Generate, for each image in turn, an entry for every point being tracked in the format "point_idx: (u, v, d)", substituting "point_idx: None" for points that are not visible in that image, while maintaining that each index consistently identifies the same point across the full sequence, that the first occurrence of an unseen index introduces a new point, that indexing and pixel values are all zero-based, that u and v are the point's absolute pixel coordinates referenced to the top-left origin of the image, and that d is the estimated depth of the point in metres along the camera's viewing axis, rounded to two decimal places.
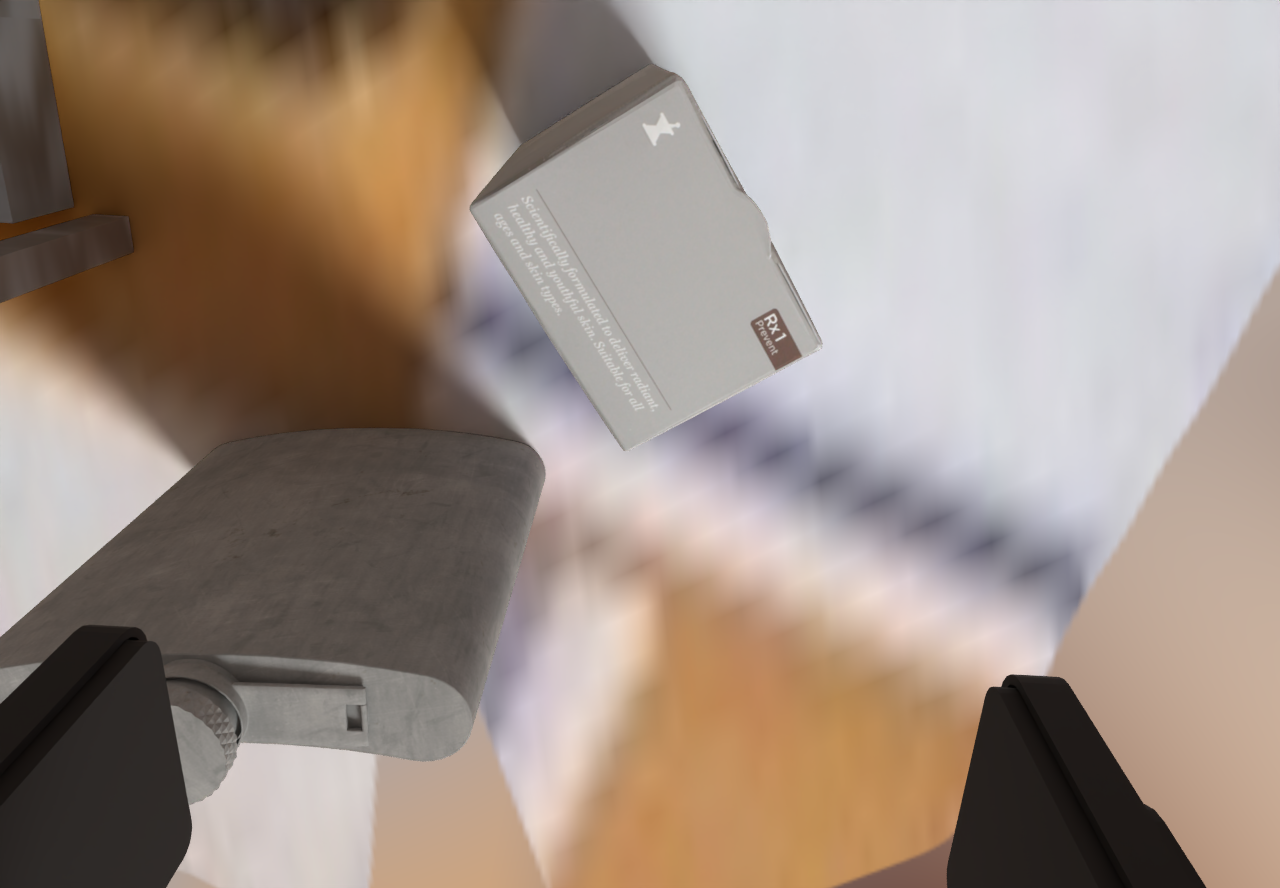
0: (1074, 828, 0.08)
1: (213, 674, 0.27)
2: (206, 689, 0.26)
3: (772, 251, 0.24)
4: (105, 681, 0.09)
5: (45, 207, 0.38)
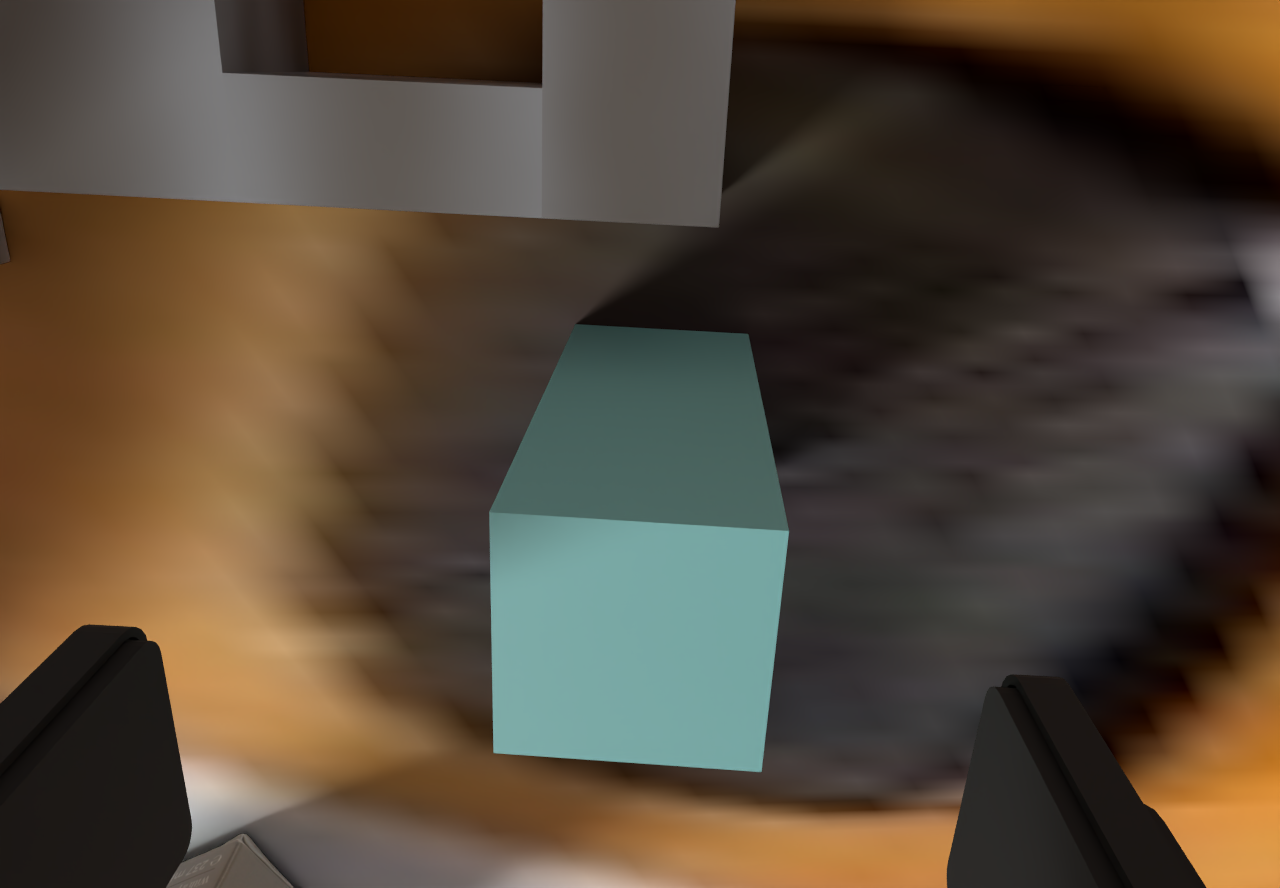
0: (1074, 828, 0.08)
1: None
2: None
3: None
4: (105, 681, 0.09)
5: None
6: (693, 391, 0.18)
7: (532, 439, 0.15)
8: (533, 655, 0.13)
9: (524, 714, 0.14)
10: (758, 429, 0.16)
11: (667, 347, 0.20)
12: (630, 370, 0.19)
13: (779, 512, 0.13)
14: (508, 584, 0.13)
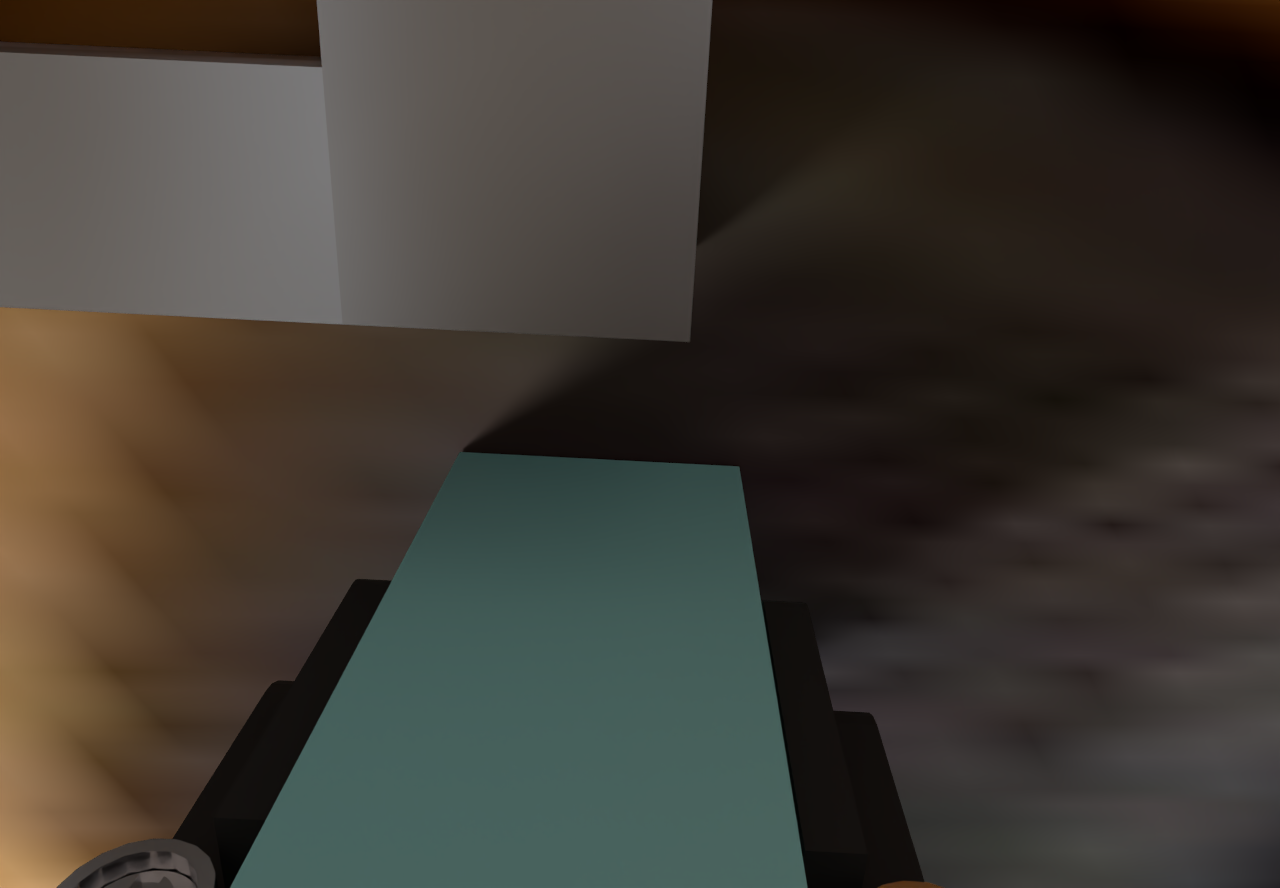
0: None
1: None
2: None
3: None
4: None
5: None
6: (642, 639, 0.09)
7: (271, 851, 0.07)
8: None
9: None
10: (769, 772, 0.08)
11: (604, 508, 0.12)
12: (531, 574, 0.11)
13: None
14: None
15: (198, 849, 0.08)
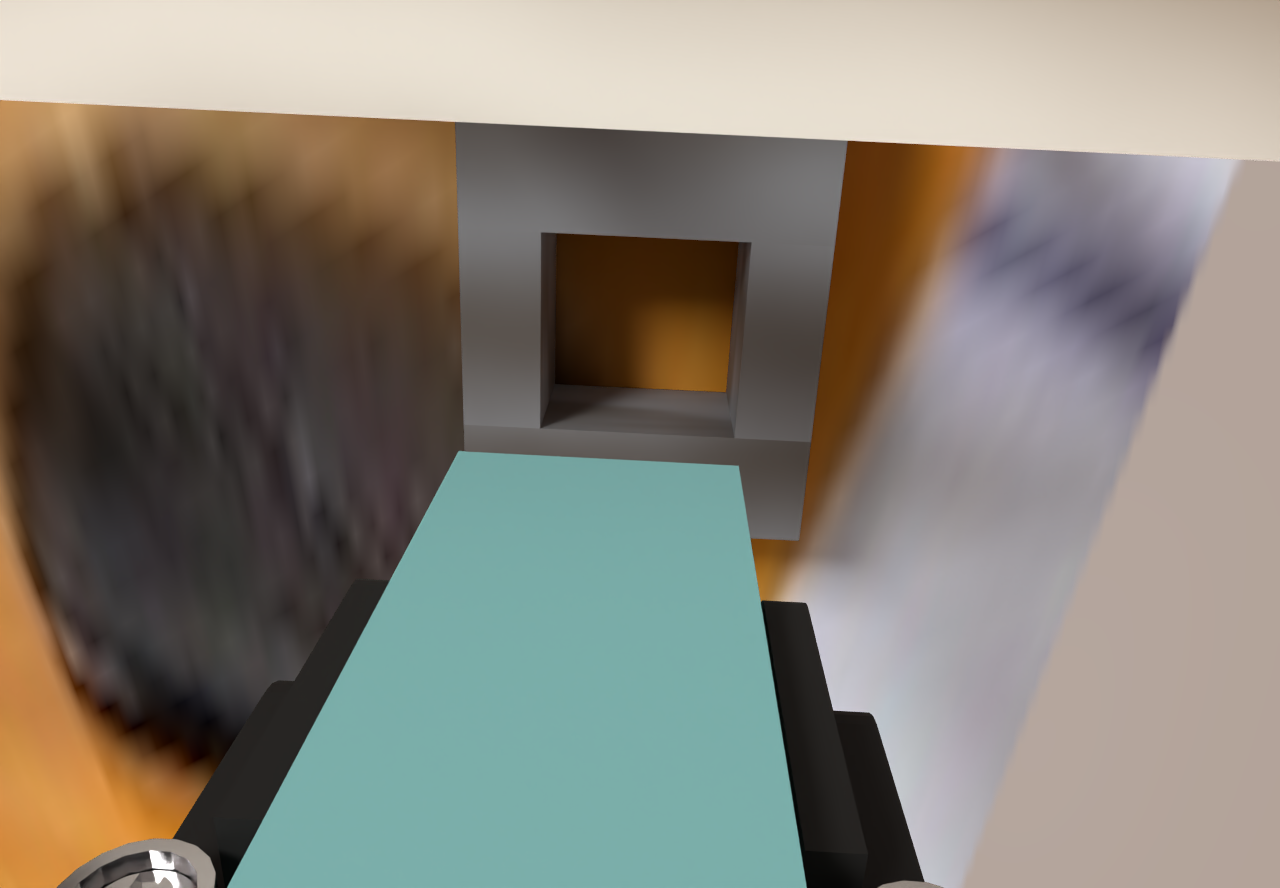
0: None
1: None
2: None
3: None
4: None
5: None
6: (641, 639, 0.09)
7: (267, 851, 0.07)
8: None
9: None
10: (768, 772, 0.08)
11: (603, 507, 0.12)
12: (529, 574, 0.10)
13: None
14: None
15: (198, 849, 0.08)
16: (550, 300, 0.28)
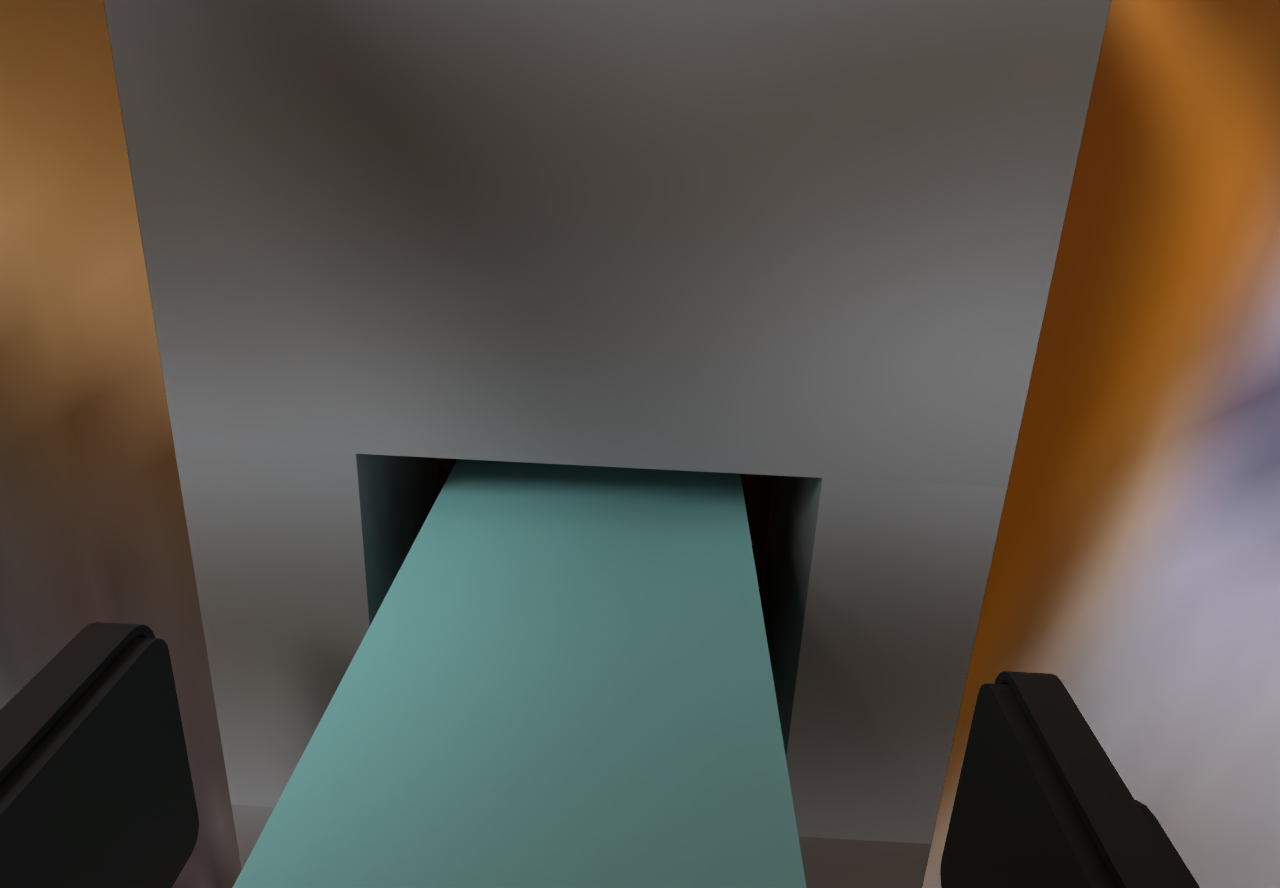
0: (1065, 824, 0.08)
1: None
2: None
3: None
4: (114, 678, 0.09)
5: None
6: (646, 543, 0.11)
7: (355, 686, 0.09)
8: None
9: None
10: (749, 632, 0.10)
11: None
12: (551, 498, 0.12)
13: None
14: None
15: None
16: (416, 536, 0.15)
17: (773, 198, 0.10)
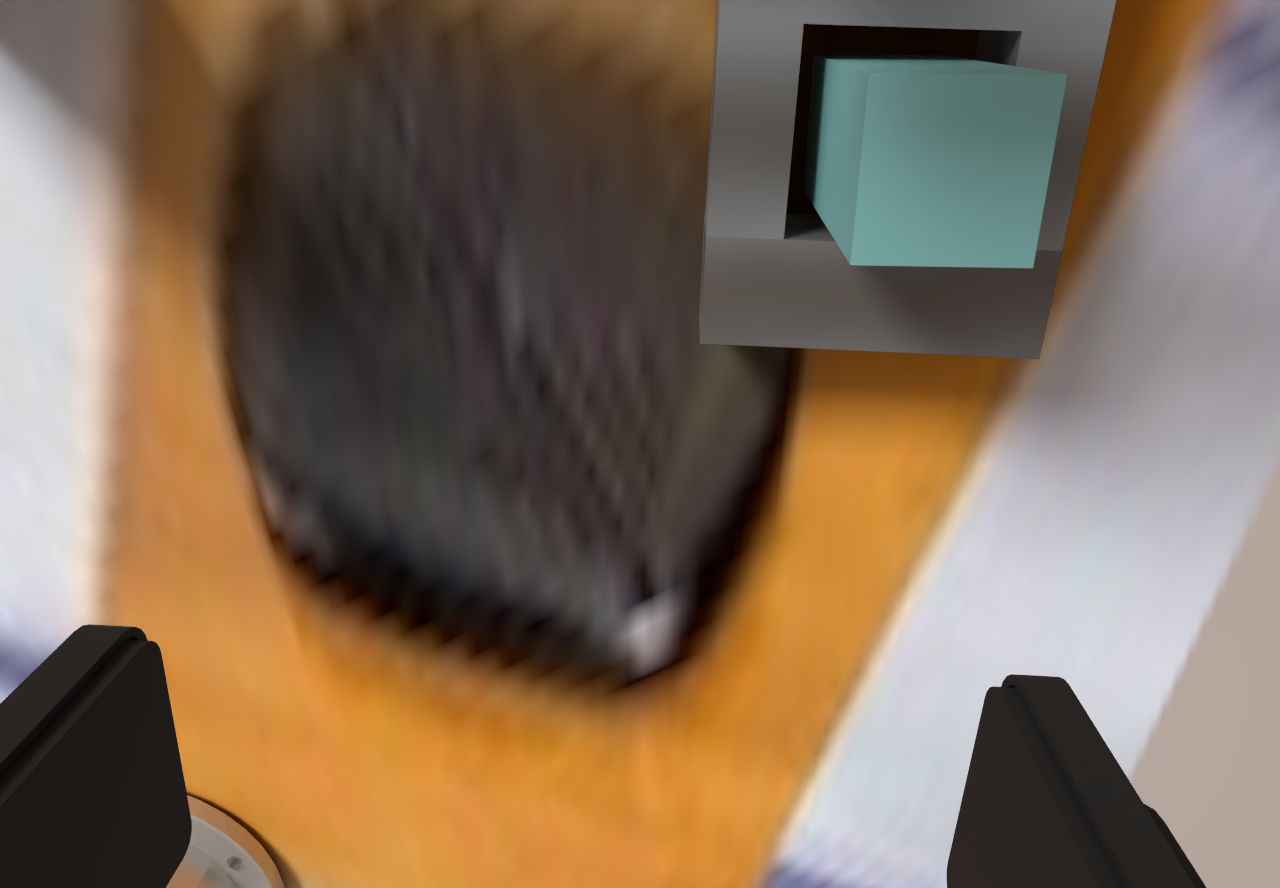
0: (1074, 828, 0.08)
1: None
2: None
3: None
4: (105, 681, 0.09)
5: None
6: None
7: (856, 66, 0.22)
8: (886, 183, 0.20)
9: (875, 232, 0.21)
10: (1003, 65, 0.23)
11: (896, 57, 0.27)
12: (882, 60, 0.26)
13: (1054, 72, 0.20)
14: (875, 128, 0.20)
15: None
16: None
17: None
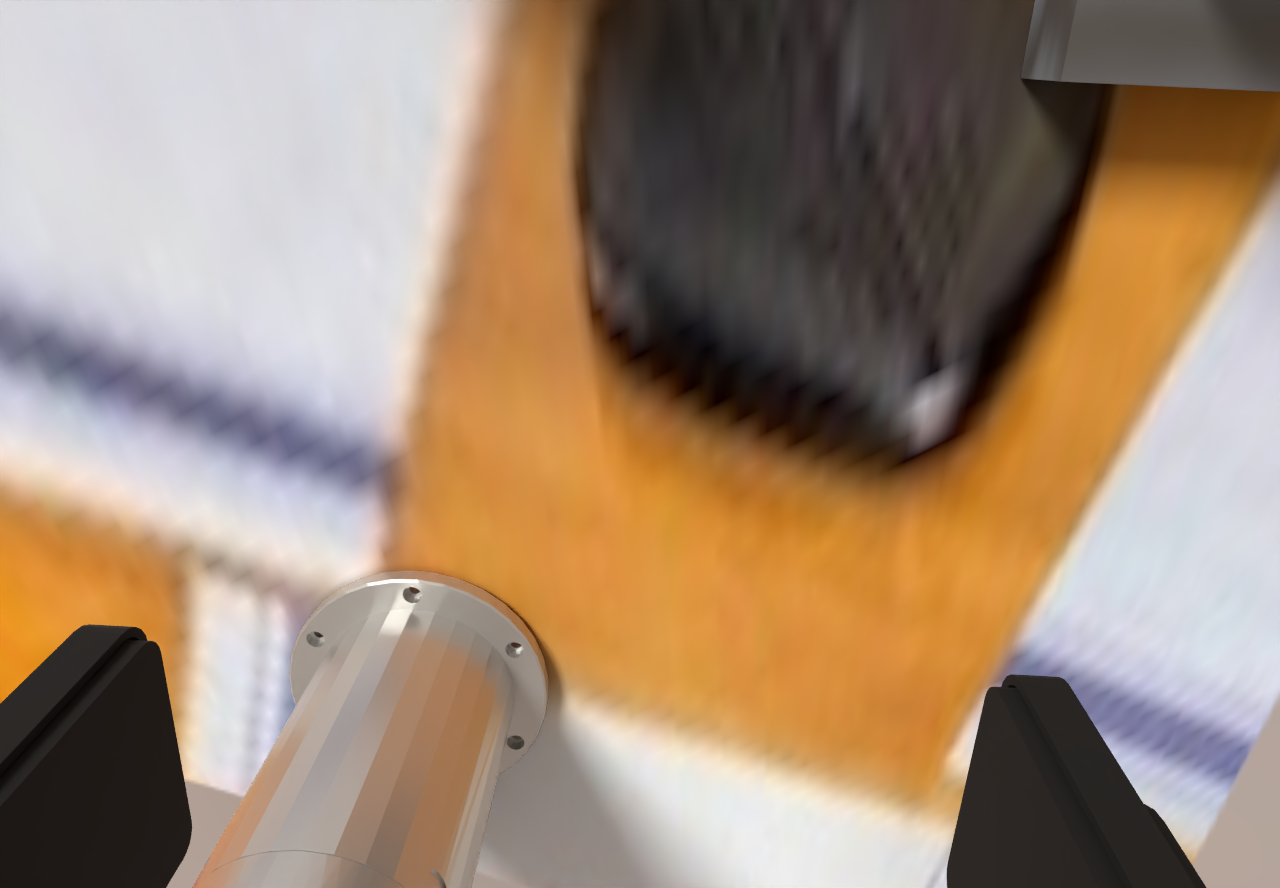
0: (1074, 828, 0.08)
1: None
2: None
3: None
4: (105, 681, 0.09)
5: None
6: None
7: None
8: None
9: None
10: None
11: None
12: None
13: None
14: None
15: None
16: None
17: None
